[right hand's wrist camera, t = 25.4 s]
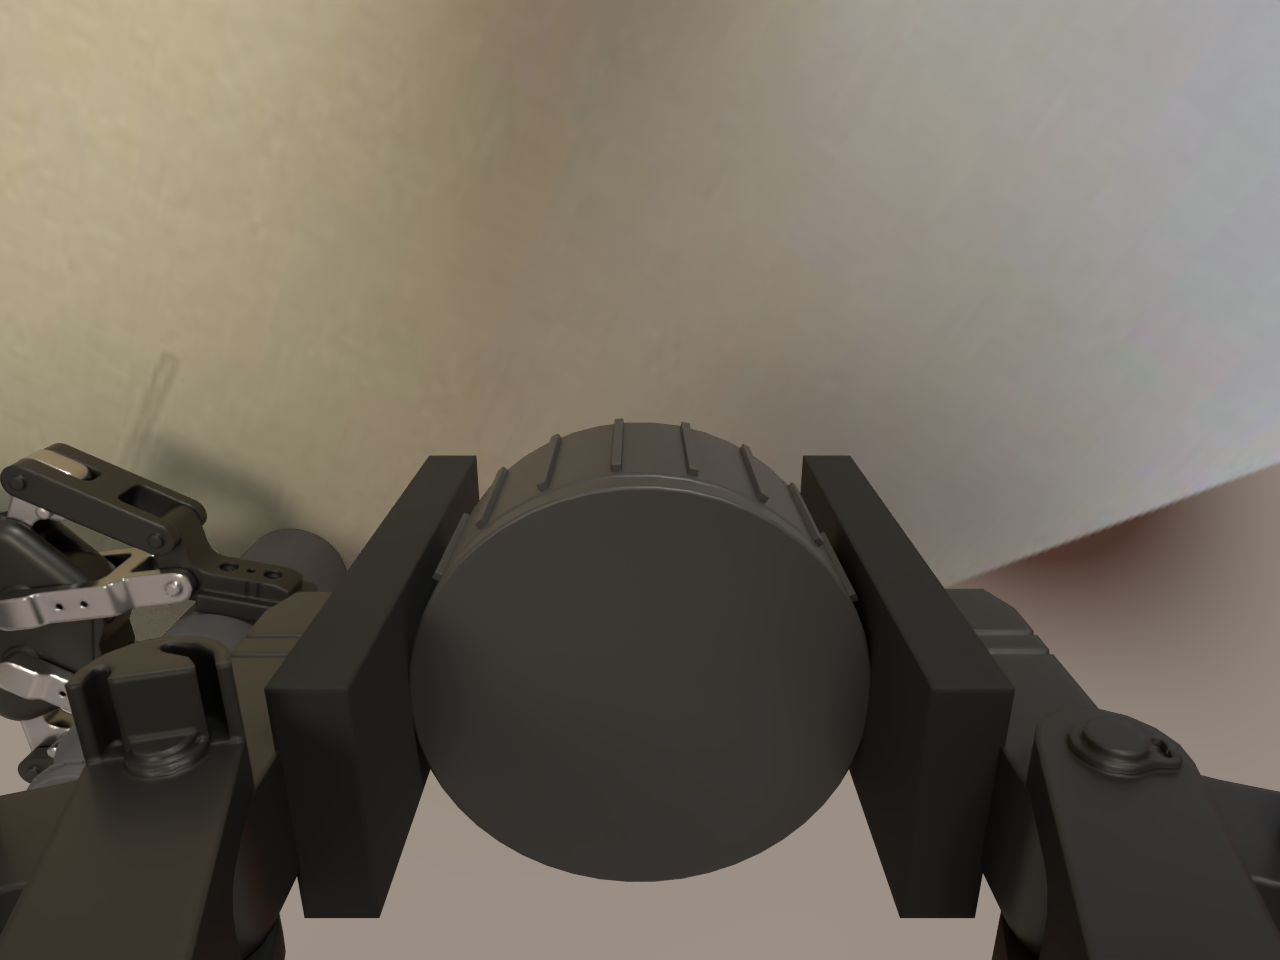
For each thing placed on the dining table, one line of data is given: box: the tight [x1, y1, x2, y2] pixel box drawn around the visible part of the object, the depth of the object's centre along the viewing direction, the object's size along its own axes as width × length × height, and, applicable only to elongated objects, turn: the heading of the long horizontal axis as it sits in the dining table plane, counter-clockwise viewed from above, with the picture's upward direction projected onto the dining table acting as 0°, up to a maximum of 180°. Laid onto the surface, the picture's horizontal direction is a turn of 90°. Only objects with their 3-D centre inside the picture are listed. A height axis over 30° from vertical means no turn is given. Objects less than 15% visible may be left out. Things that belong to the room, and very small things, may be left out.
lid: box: [409, 419, 871, 882], centre depth 11 cm, size 5×5×2 cm
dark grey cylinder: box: [26, 529, 346, 791], centre depth 32 cm, size 4×4×16 cm
